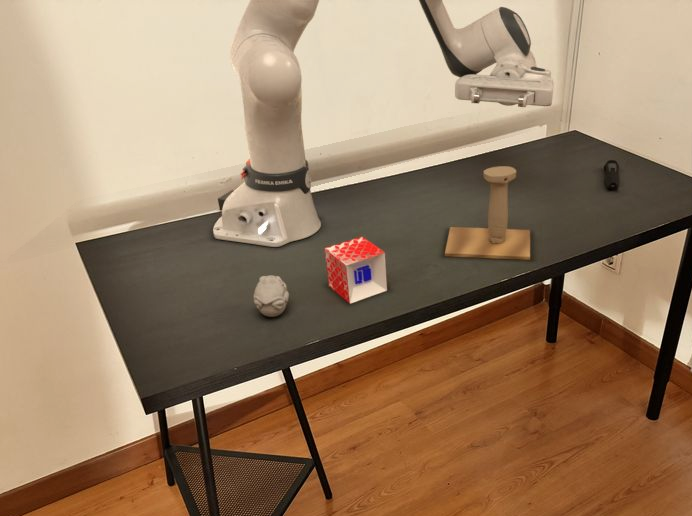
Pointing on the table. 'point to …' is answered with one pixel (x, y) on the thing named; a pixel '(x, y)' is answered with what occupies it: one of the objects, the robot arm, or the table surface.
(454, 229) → the oak board
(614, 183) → the electric trimmer
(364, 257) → the red and white cube
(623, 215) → the table surface
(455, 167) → the table surface
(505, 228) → the handle
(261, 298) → the frog figurine
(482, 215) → the table surface
